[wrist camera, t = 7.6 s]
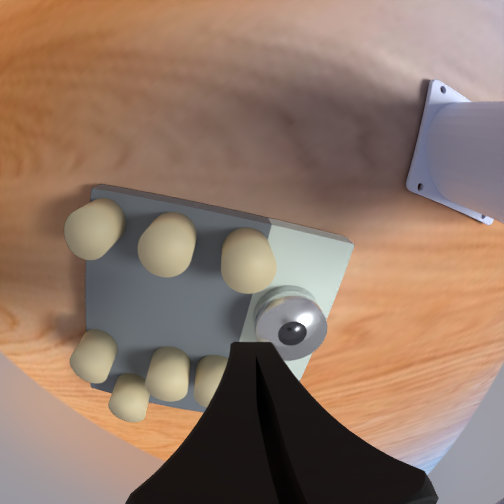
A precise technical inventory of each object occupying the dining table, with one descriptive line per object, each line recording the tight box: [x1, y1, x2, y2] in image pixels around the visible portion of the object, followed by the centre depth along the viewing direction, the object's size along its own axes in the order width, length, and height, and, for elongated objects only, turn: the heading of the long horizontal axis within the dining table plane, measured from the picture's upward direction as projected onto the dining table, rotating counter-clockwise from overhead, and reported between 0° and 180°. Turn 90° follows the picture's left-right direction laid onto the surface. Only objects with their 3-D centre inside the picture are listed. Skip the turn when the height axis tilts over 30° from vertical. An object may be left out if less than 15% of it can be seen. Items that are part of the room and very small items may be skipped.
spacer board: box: [64, 184, 355, 422], centre depth 18 cm, size 15×15×4 cm
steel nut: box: [253, 285, 327, 361], centre depth 18 cm, size 4×4×2 cm
